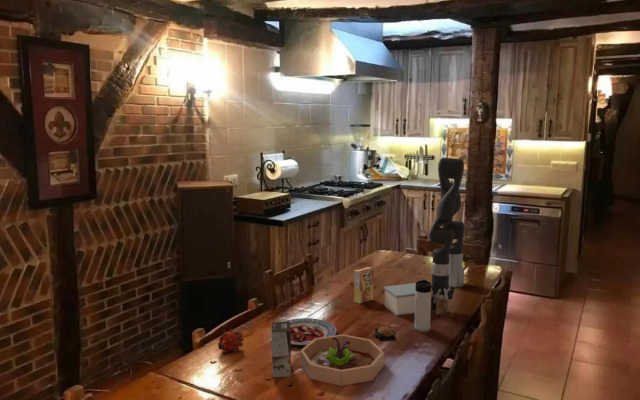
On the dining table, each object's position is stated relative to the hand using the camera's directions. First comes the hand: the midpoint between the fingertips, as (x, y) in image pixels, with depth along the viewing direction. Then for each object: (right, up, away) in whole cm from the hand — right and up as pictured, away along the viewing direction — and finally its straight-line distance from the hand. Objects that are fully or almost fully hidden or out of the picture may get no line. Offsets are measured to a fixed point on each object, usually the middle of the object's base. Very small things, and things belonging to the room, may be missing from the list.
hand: (439, 309), depth 236 cm
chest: (-14, 0, +4) cm, 14 cm away
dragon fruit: (-86, -8, -38) cm, 94 cm away
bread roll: (-27, -6, -25) cm, 37 cm away
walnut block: (0, -1, 0) cm, 1 cm away
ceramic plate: (-59, -6, -24) cm, 64 cm away
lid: (-14, +7, +3) cm, 16 cm away
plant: (-46, -10, -51) cm, 70 cm away
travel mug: (-11, -4, -19) cm, 23 cm away
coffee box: (-66, -10, -53) cm, 85 cm away
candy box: (-32, +1, +14) cm, 35 cm away
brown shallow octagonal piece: (-45, -9, -49) cm, 68 cm away
